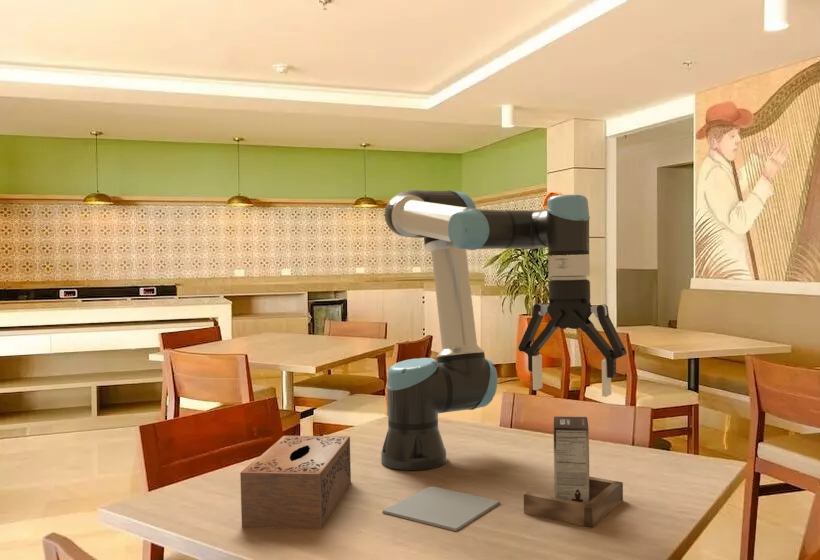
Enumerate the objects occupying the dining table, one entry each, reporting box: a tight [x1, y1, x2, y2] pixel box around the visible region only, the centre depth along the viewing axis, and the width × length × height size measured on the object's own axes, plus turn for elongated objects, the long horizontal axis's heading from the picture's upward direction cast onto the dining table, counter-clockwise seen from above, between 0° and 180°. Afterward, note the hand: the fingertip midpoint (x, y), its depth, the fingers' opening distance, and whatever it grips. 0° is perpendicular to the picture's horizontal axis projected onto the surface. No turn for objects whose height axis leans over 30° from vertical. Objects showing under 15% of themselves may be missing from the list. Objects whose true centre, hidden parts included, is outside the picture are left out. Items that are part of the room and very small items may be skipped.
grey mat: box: [382, 486, 501, 532], centre depth 129 cm, size 16×16×1 cm
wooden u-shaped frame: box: [523, 476, 624, 528], centre depth 129 cm, size 13×16×4 cm
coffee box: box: [553, 416, 591, 503], centre depth 129 cm, size 9×6×16 cm
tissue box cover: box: [239, 435, 352, 530], centre depth 134 cm, size 26×14×10 cm, turn 173°
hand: (571, 392), depth 128 cm, fingers open, 13 cm apart
